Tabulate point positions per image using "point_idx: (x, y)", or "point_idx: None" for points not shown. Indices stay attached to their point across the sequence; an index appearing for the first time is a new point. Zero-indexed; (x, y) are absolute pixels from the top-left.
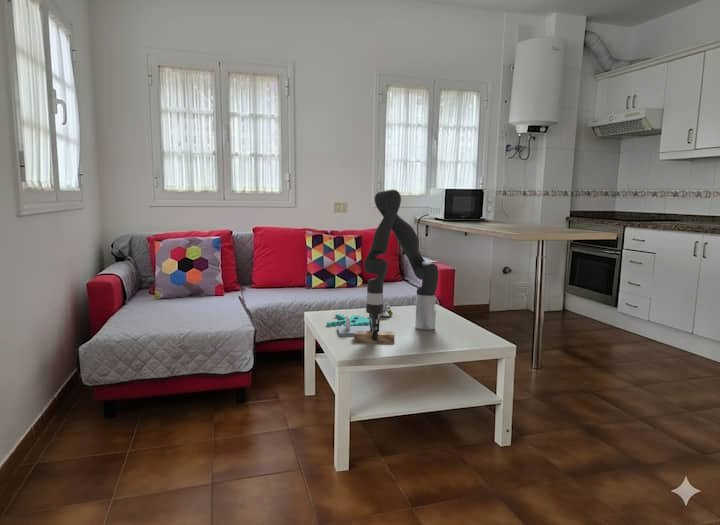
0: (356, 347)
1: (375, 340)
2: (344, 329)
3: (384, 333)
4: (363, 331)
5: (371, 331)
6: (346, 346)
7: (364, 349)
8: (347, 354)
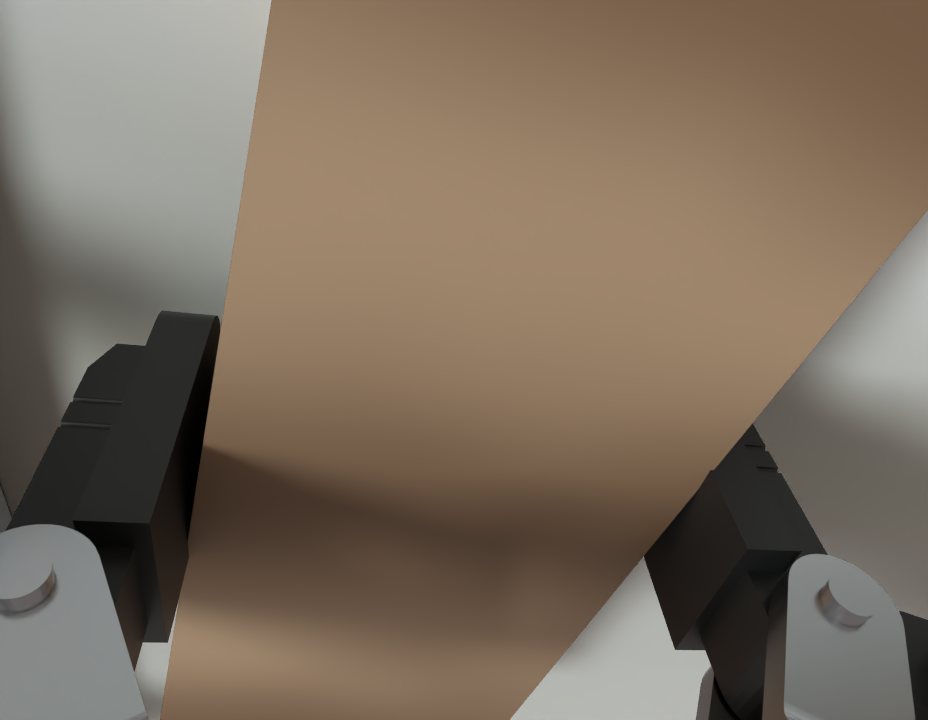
0: None
1: None
2: None
3: (696, 192)
4: (246, 681)
5: (261, 541)
6: (629, 704)
7: (897, 572)
8: None
